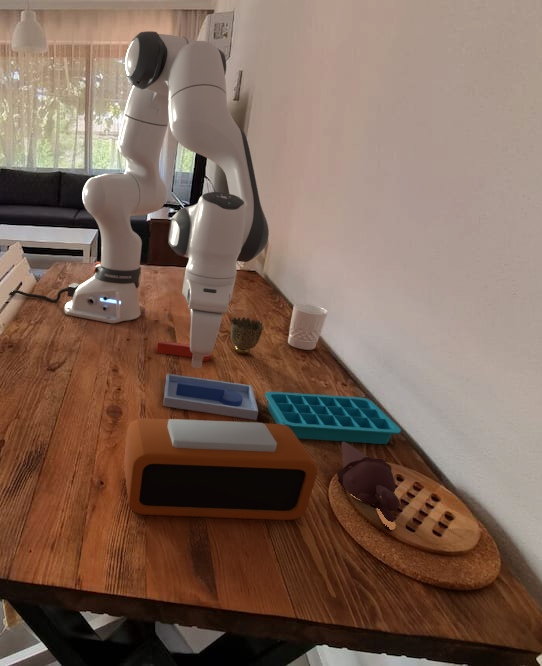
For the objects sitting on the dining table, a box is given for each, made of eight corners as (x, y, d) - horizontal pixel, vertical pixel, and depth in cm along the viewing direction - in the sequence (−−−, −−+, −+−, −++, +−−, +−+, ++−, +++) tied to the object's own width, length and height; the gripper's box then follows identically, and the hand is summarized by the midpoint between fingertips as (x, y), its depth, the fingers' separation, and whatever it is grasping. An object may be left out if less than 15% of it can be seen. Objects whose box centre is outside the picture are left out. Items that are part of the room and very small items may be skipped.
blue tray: (163, 406, 88) (164, 397, 87) (165, 381, 97) (166, 373, 96) (256, 420, 84) (258, 411, 84) (250, 393, 94) (251, 385, 93)
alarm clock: (127, 515, 61) (134, 445, 57) (122, 473, 69) (128, 409, 65) (303, 522, 62) (324, 453, 57) (279, 479, 69) (296, 416, 65)
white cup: (316, 341, 121) (325, 306, 117) (319, 353, 114) (329, 316, 110) (284, 336, 123) (292, 301, 120) (286, 347, 116) (294, 311, 113)
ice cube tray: (399, 447, 78) (404, 433, 77) (280, 439, 79) (284, 425, 78) (364, 411, 89) (368, 397, 88) (260, 404, 90) (263, 391, 89)
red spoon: (156, 355, 109) (157, 345, 108) (157, 347, 113) (158, 338, 112) (210, 362, 107) (212, 352, 106) (209, 354, 111) (211, 344, 110)
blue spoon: (175, 398, 90) (177, 386, 89) (176, 387, 94) (178, 376, 93) (242, 408, 87) (245, 396, 86) (240, 397, 91) (242, 385, 90)
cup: (259, 360, 109) (266, 329, 105) (227, 356, 110) (233, 326, 107) (255, 348, 115) (261, 318, 112) (225, 344, 117) (230, 315, 113)
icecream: (319, 428, 71) (364, 503, 58) (369, 422, 70) (428, 498, 57) (318, 461, 75) (361, 540, 61) (366, 455, 73) (421, 535, 60)
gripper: (190, 270, 92) (181, 332, 98) (189, 302, 74) (177, 377, 79) (222, 274, 91) (211, 337, 97) (229, 307, 73) (214, 383, 78)
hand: (196, 355), depth 88 cm, fingers open, 8 cm apart
